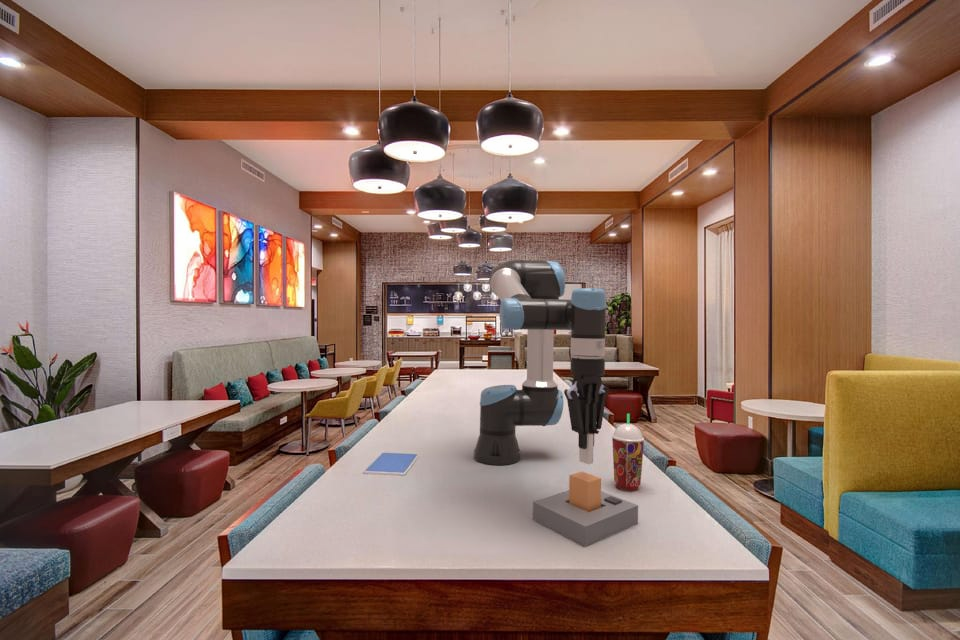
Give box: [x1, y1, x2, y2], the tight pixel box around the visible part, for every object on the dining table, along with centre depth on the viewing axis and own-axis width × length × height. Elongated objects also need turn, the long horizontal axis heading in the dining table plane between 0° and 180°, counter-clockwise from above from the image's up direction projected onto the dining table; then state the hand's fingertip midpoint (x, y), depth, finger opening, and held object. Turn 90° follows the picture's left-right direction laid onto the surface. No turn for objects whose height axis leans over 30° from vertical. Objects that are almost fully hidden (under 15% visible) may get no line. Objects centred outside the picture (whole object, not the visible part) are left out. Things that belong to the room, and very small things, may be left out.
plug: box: [568, 471, 602, 512], centre depth 101 cm, size 5×4×10 cm
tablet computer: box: [363, 452, 420, 477], centre depth 138 cm, size 19×13×1 cm, turn 176°
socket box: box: [532, 489, 639, 548], centre depth 101 cm, size 15×18×4 cm
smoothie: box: [611, 413, 645, 492], centre depth 122 cm, size 8×8×20 cm
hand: (586, 462), depth 101 cm, fingers closed
